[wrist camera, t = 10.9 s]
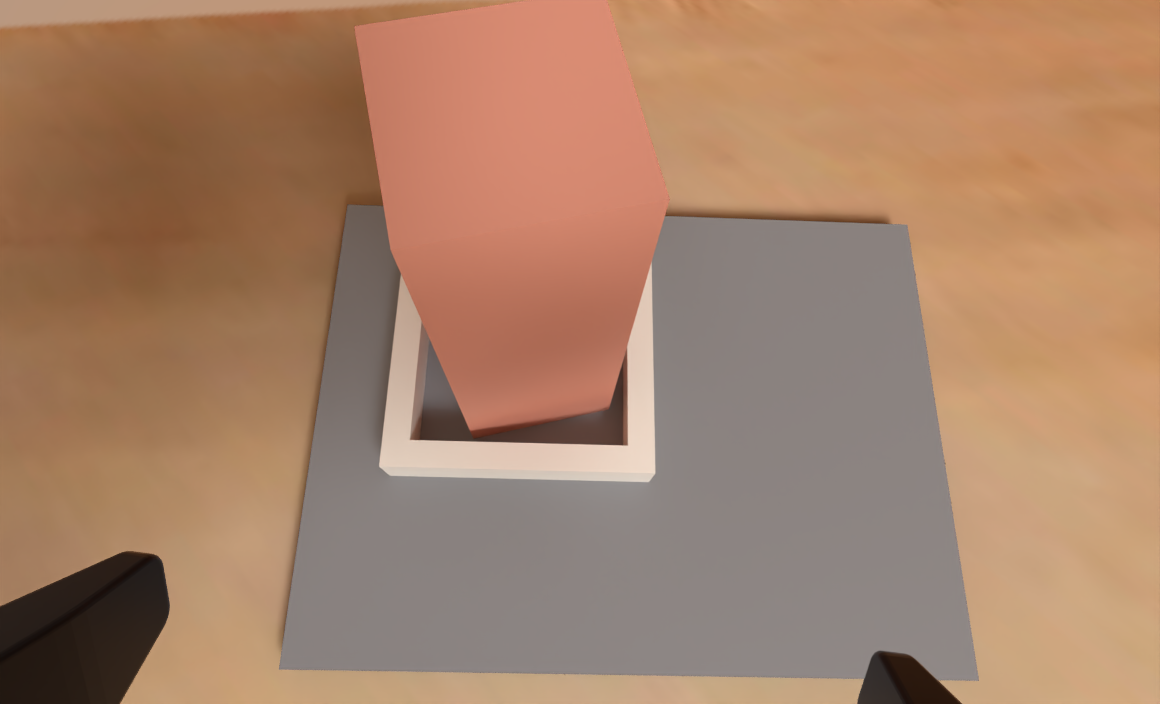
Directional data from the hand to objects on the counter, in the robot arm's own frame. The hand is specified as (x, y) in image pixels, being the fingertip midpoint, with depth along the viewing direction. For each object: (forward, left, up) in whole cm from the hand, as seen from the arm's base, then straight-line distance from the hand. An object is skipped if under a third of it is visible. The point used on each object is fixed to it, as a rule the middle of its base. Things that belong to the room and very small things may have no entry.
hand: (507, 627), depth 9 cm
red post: (0, +8, -13) cm, 15 cm away
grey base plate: (+3, +6, -13) cm, 15 cm away
